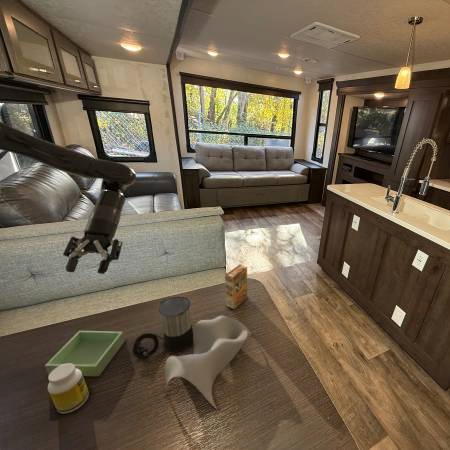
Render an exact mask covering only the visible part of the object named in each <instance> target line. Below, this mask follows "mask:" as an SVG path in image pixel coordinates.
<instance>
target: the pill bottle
mask: <svg viewBox="0 0 450 450" xmlns="http://www.w3.org/2000/svg"><path fill="white" fill-rule="evenodd" d="M47 378H48V382H49V383H48V385H47V391H48V394H49V396H50V399H51V400H52V402H53V404H54V407H55V408H56V409H55V410H56V411H57V412H58V413H60V414H69V413H72V412H74V411H76V410H78V409H79V408H81V407H82V406H83V405H84V404H85V403H86V401H87V400H88V398H89V396H90V393H89V392H90V391H89V389H88V386H87V383H86V381H85V378H84V376H83V375H82V372H81V371H80V370H79V369H76V368H75V366H74V365H73V364H71V363H67V364H63V365H61V366H59V367H57V368H55V369H54V370H53V371H52V372H51V373H50V374H48V377H47Z"/></svg>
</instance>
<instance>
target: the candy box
mask: <svg viewBox="0 0 450 450" xmlns="http://www.w3.org/2000/svg"><path fill="white" fill-rule="evenodd" d="M224 278H225V279H224V280H225V282H224V283H225V299H226V300H225V302H226V307H228V308H230V309H233V310H235V309H236V308H237V307H238V306H240V305H241V304H242V303H243V302H244V301H245V300H246V299H248V267H247V266H246V265H242V264H238V265H237V266H235V267H234V268H232V269H231V270H230V271H228V272H226V273H225V274H224Z"/></svg>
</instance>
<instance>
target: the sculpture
mask: <svg viewBox="0 0 450 450" xmlns="http://www.w3.org/2000/svg"><path fill="white" fill-rule="evenodd" d="M248 334H250V335H252V333H251V331H250V329H249V328H248V327H247V326H246V325H245V324H244V323H242V322H241V321H240V320H236V319H234V318H232V317H230V316H227V315H226V316H225V315H218V316H216V317H215V318H213V319H201V320H198V321H197V322H196V323H195V325H194V328H193V354H191V353H190V354H186V355H170V356H169V357H168V358H167V360H166V361H165V365H164V381H165V389H166V390H168V387H169V382H170V380H171V379H172V378H177V377H179V378H183V379H185V380H187V381H188V382H190V383H191V384H192V385H193V386H194V387H195V388H196V389H197V390H198V391H199V392H200V393H201V394H202V396H203V397H204V398H205V399H206V400H207V402H208V403H210V405H211V406H212V407H213V408H215V409H216V410H218V409H217V406H216V404H215V401H214V397H213V384H214V382H215V380H216V378H217V376H218V375H219V374H220V372H222V370H223V369H224V368H225V367H226V366H227V365H228V364H229V363H231V361H232V360H233V359H234V358H235V356H236V355H237V354H238V352H240V350H241V348H242V347H243V346H244V344H245V342H246V340H247V338H248ZM166 394H167V395H166V396H169V394H168V393H166Z"/></svg>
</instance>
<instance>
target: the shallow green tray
mask: <svg viewBox="0 0 450 450" xmlns="http://www.w3.org/2000/svg"><path fill="white" fill-rule="evenodd" d="M125 342H126V340H125V335H124V331H111V330H110V331H108V330H107V331H105V330H103V331H102V330H101V331H100V330H79V331H77V332H76V333H75V334H74V335H73V337H71V338H70V339H69V341H67V342H66V343H65V344H64V346H62V347H61V348H60V350H59V351H57V352H56V354H55V355H54V356H52V358H50V360H48V361H47V363H46V364H44V368H45V370H46V372H47V374H48V375H49V374H50V373H51V372H52V371H53V370H54V369H55V368H57V367H59V366H61V365H63V364H67V363H71V364H73V365H74V366H75V368H76V369H79V370H80V371H81V372H82V375H83V377H100V376H101V374H102V373H103V372H104V370H105V369H106V368H107V366H108V365H109V363H110V362H111V361H112V360H113V358H114V357H115V355H116V354H117V353H118V351H119V350H120V348H121V347H122V346H123V344H124V343H125Z"/></svg>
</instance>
